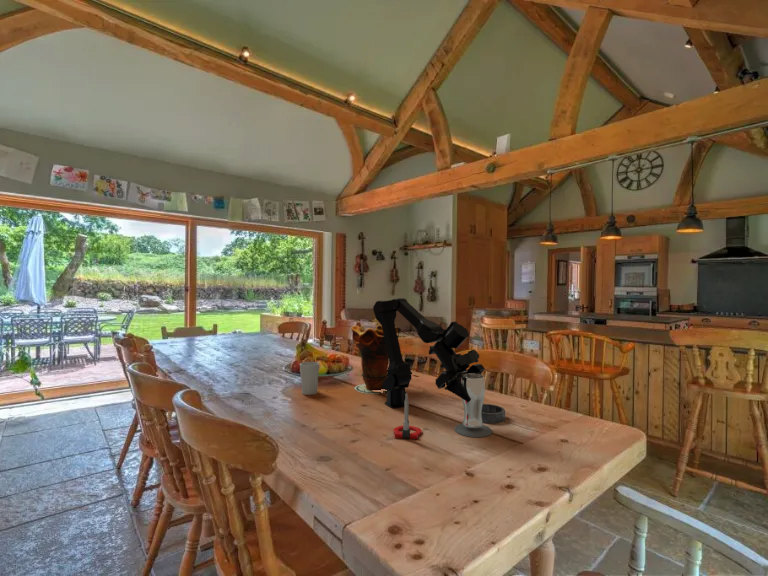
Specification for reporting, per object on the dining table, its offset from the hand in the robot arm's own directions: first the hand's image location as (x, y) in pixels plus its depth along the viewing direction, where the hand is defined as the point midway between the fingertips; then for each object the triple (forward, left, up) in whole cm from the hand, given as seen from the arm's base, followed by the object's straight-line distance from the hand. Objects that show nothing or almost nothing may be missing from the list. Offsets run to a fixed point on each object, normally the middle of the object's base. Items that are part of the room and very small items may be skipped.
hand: (476, 399), depth 117 cm
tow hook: (-19, +8, -10) cm, 23 cm away
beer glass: (0, +1, -8) cm, 8 cm away
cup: (-33, +65, -10) cm, 74 cm away
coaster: (0, +1, -10) cm, 10 cm away
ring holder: (+12, +8, -10) cm, 17 cm away
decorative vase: (-6, +59, -10) cm, 60 cm away
